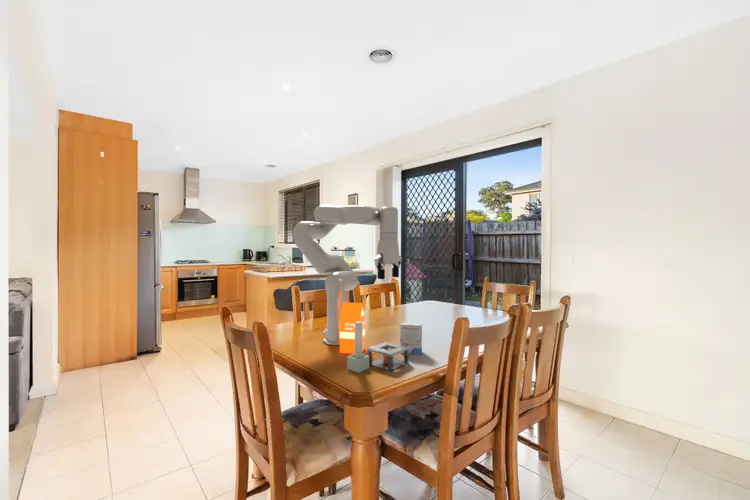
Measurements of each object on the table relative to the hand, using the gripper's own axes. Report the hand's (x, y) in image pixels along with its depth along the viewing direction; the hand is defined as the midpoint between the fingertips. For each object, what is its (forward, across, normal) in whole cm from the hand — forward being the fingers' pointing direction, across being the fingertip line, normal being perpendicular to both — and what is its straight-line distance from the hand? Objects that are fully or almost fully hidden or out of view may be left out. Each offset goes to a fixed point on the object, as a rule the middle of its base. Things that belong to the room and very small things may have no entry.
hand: (388, 278), depth 148 cm
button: (+30, +13, +10) cm, 34 cm away
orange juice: (+31, +10, -11) cm, 34 cm away
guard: (+30, +13, +10) cm, 34 cm away
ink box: (+31, -4, +9) cm, 32 cm away
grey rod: (+30, +24, +5) cm, 38 cm away
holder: (+30, +24, +5) cm, 39 cm away
